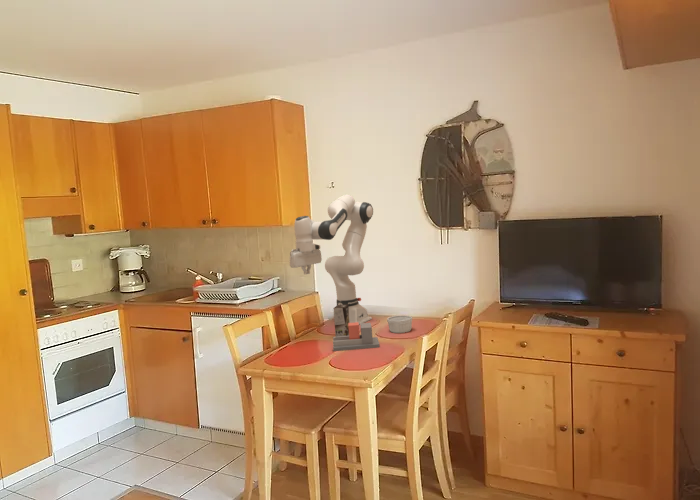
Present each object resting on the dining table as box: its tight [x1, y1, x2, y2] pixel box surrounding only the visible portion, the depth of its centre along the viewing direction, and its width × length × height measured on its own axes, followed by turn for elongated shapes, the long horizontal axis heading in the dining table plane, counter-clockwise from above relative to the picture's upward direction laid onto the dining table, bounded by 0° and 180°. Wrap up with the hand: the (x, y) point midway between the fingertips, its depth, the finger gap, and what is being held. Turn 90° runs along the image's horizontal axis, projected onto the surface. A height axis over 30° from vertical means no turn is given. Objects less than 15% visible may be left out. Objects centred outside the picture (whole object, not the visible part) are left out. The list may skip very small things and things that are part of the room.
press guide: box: [332, 322, 381, 352], centre depth 269 cm, size 22×14×10 cm, turn 91°
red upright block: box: [348, 322, 361, 340], centre depth 269 cm, size 5×6×9 cm
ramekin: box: [387, 314, 413, 334], centre depth 292 cm, size 13×13×7 cm
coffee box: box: [333, 304, 350, 337], centre depth 289 cm, size 9×6×16 cm
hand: (306, 274), depth 287 cm, fingers closed
